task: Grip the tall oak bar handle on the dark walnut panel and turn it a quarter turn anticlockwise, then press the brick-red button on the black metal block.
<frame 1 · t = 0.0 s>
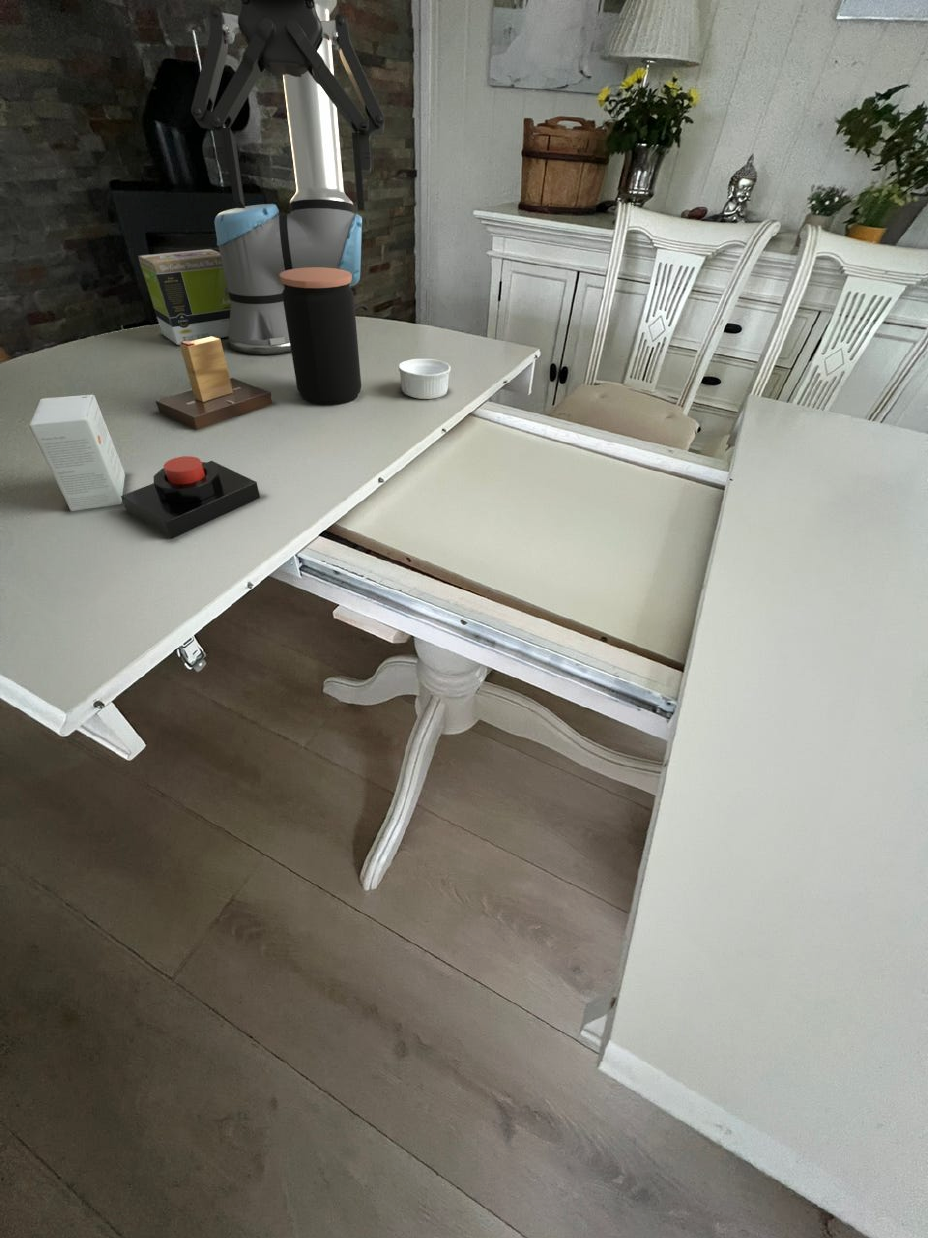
hand: (301, 206, 65), 28 cm above the table, tool tilted 20°, fingers open, 13 cm apart
button block: (195, 505, 68), on the table
panel: (217, 408, 91), on the table
handle: (207, 368, 87), point 6 cm above the table, hinge at 0.0°
button: (184, 470, 65), point 4 cm above the table, slide at 0.1 cm
small box: (100, 494, 70), on the table
coffee jar: (330, 396, 97), on the table
tea box: (204, 336, 121), on the table
ramekin: (425, 392, 99), on the table
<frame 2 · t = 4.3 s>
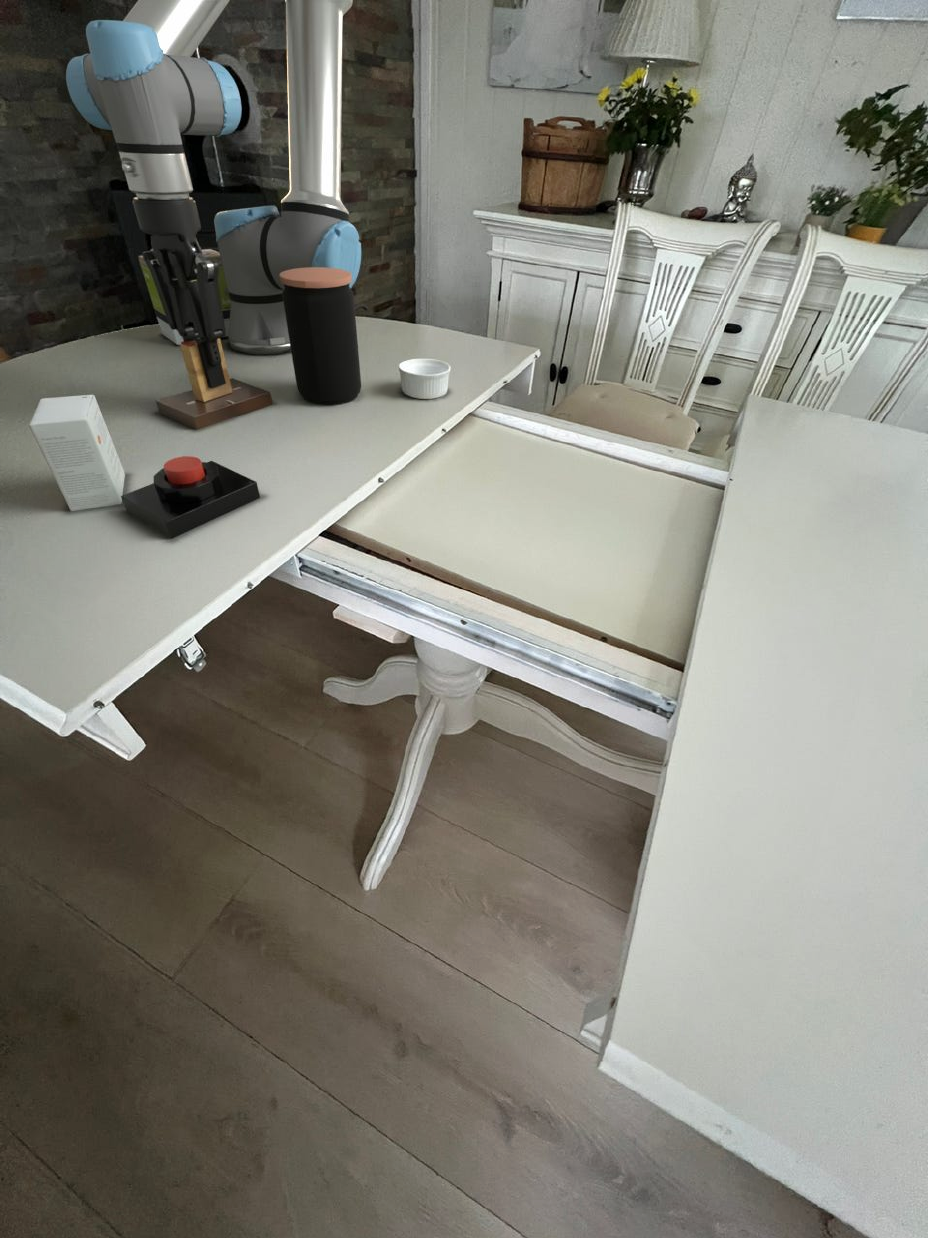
hand: (210, 382, 88), 4 cm above the table, tool pointing down, fingers closed on handle, 2 cm apart
handle: (207, 368, 87), point 6 cm above the table, hinge at 3.4°, touching gripper
everything else where it was.
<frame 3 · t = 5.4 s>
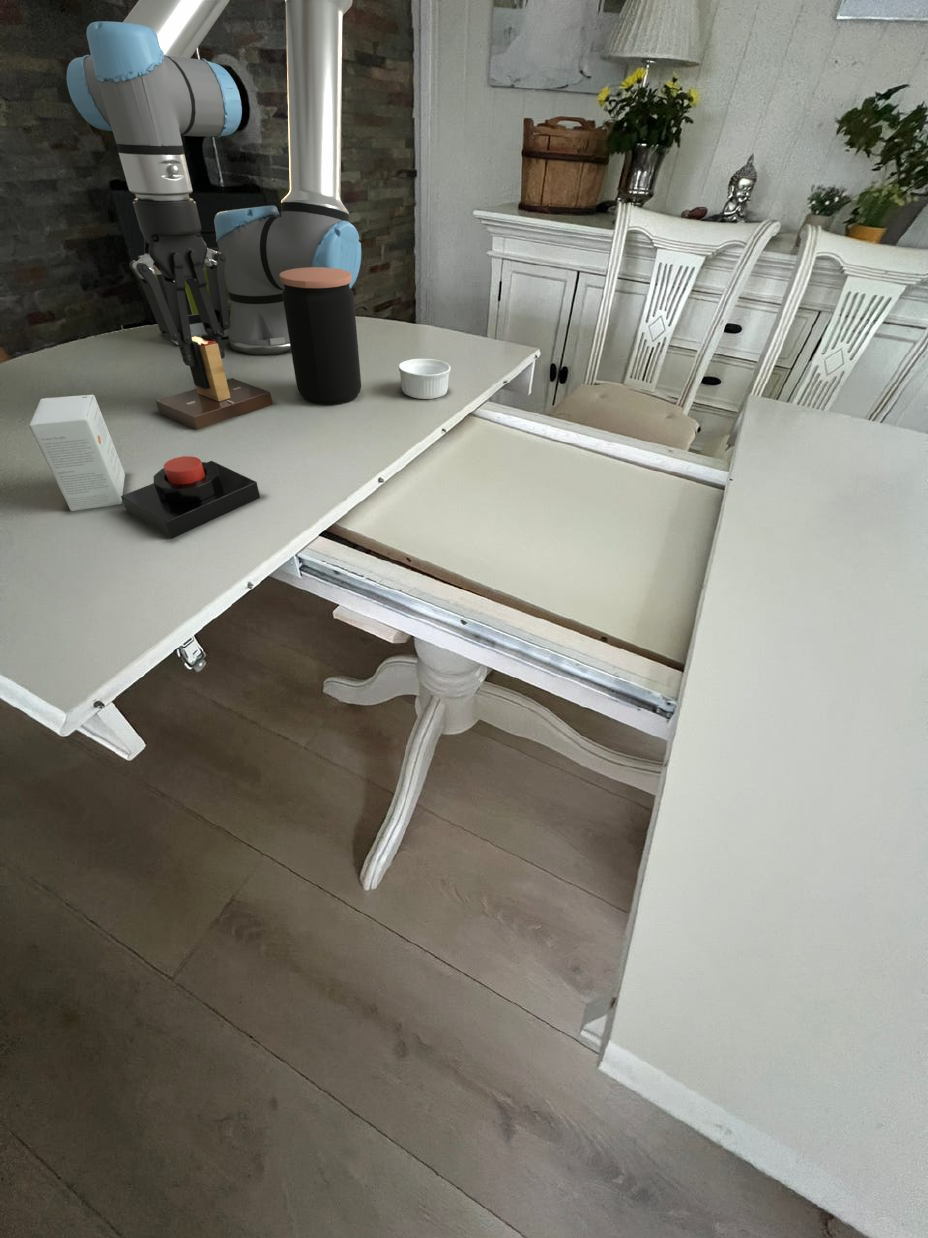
hand: (210, 383, 88), 4 cm above the table, tool pointing down, fingers open, 2 cm apart
handle: (207, 368, 87), point 6 cm above the table, hinge at 90.0°
everything else where it was.
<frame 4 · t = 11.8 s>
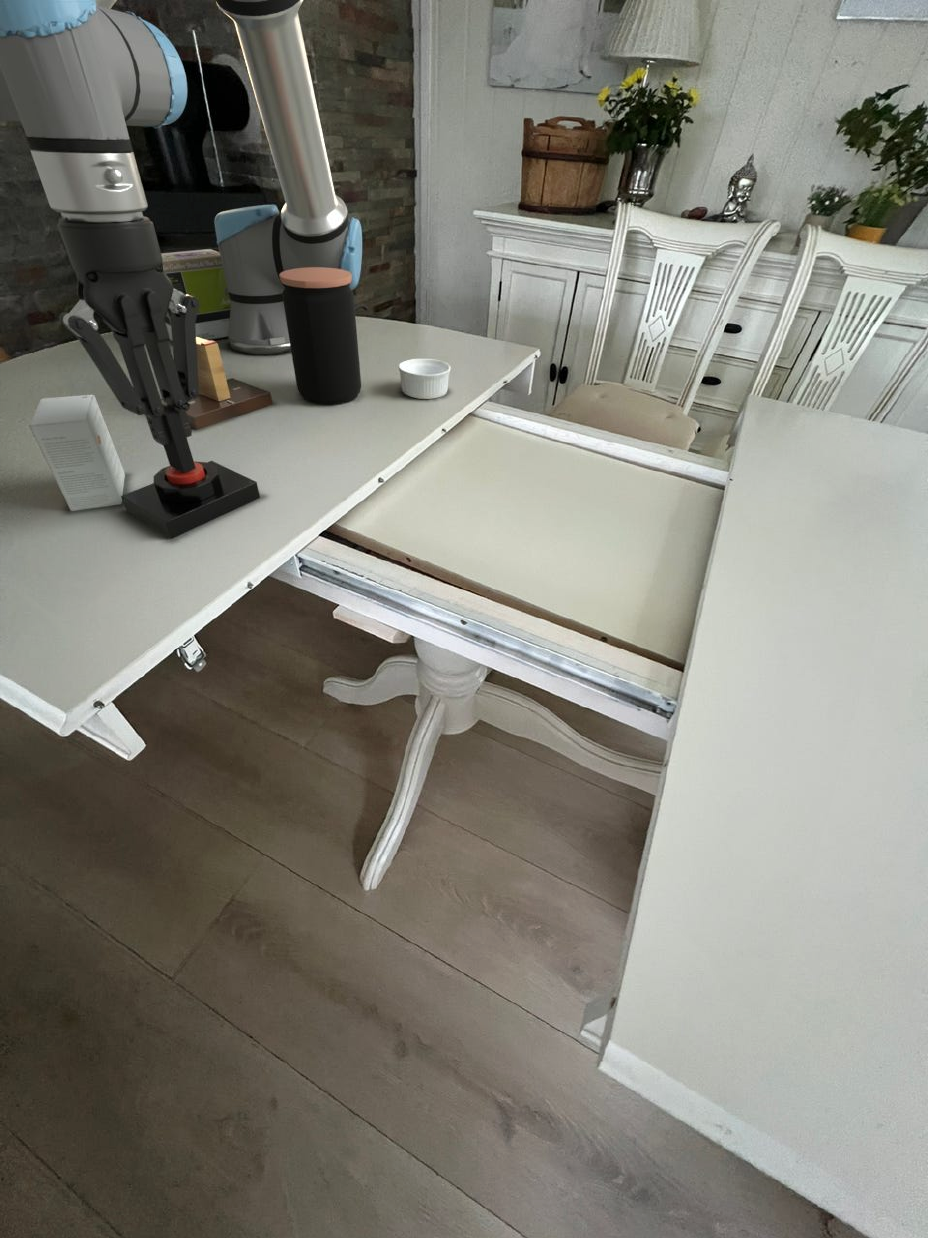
hand: (183, 467, 65), 5 cm above the table, tool pointing down, fingers closed
button: (186, 475, 65), point 4 cm above the table, slide at -0.5 cm, touching gripper
everything else where it was.
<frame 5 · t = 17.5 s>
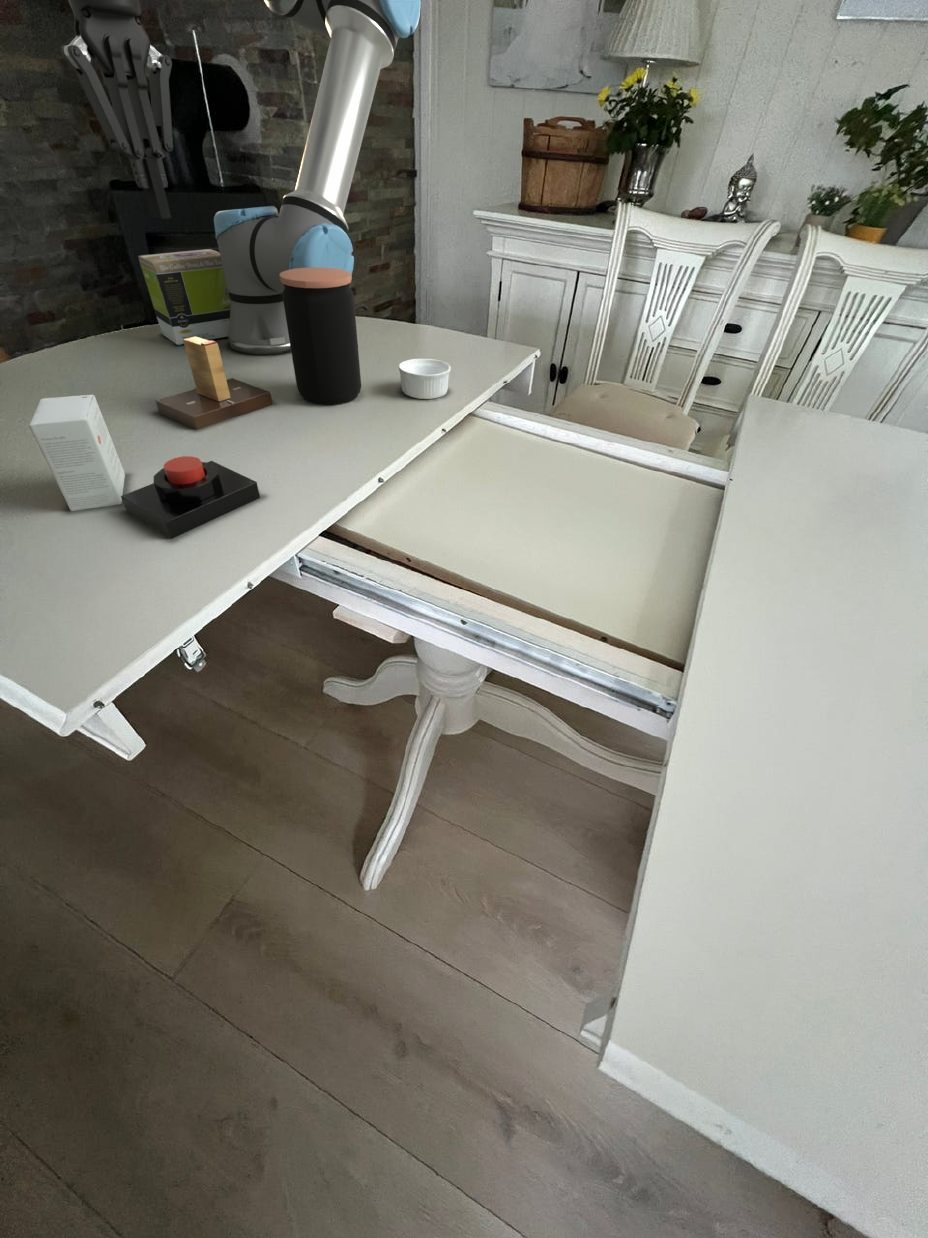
hand: (161, 217, 80), 24 cm above the table, tool pointing down, fingers closed
button: (184, 470, 65), point 4 cm above the table, slide at 0.1 cm
everything else where it was.
at the end: handle at +90° (first picture: +0°); button pushed in 1.0 cm at the most during the clip, back to where it started at the end; button slide at 0.1 cm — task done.
